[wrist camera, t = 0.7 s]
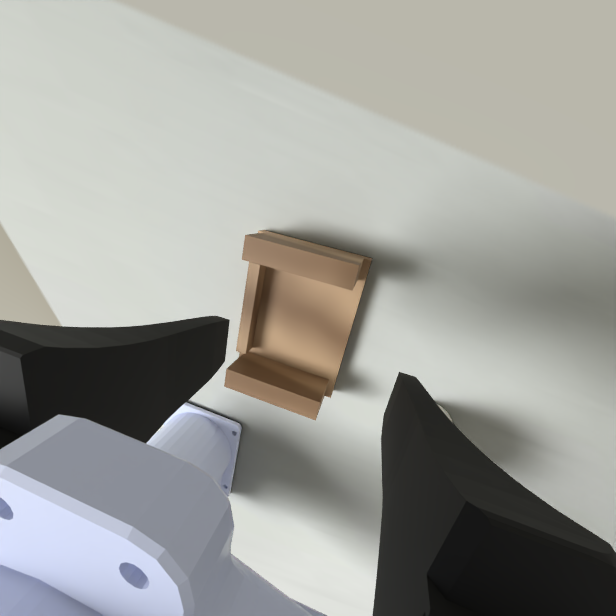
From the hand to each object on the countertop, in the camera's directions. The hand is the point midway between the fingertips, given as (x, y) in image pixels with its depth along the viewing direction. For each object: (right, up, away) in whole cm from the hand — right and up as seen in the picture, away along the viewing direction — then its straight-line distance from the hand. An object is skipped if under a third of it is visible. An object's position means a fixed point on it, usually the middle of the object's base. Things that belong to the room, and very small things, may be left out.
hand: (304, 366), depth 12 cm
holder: (0, +2, +11) cm, 11 cm away
